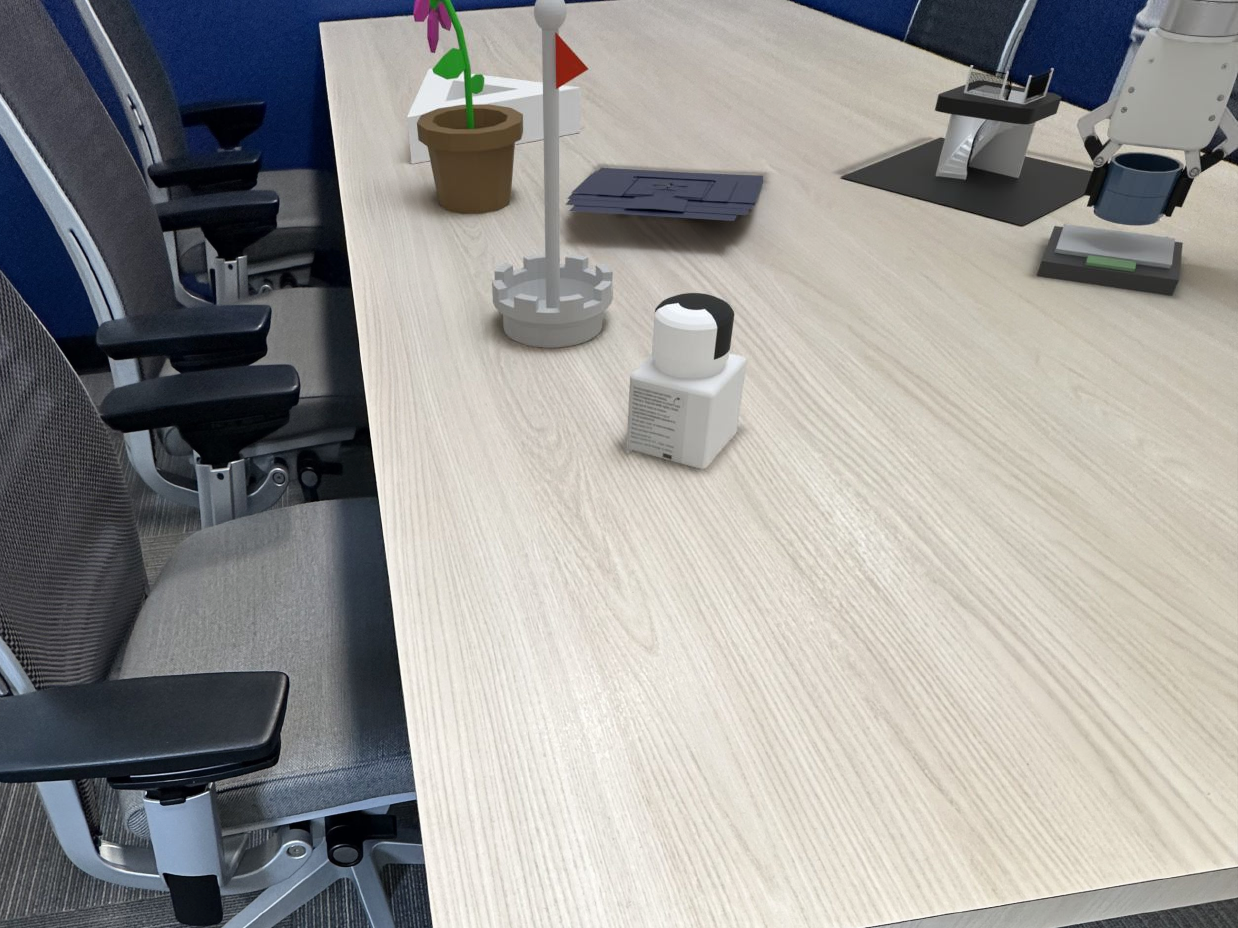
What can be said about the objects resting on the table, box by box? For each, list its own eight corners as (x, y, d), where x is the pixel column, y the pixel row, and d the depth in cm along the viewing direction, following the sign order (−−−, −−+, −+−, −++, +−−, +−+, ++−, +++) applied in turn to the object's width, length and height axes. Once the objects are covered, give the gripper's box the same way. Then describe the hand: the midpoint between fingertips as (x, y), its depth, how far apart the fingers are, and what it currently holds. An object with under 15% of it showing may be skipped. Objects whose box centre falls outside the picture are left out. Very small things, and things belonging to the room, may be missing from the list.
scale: (1173, 263, 114) (1185, 237, 112) (1169, 302, 106) (1181, 275, 104) (1047, 246, 118) (1056, 221, 116) (1034, 281, 111) (1043, 256, 109)
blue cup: (1162, 208, 110) (1185, 156, 106) (1159, 230, 105) (1182, 176, 102) (1094, 200, 112) (1113, 149, 108) (1088, 220, 108) (1108, 167, 104)
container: (661, 416, 91) (672, 277, 82) (737, 436, 89) (757, 294, 79) (624, 454, 87) (631, 311, 78) (703, 476, 84) (720, 330, 75)
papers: (553, 234, 122) (554, 202, 120) (598, 187, 145) (600, 160, 142) (746, 246, 117) (751, 213, 115) (762, 196, 140) (766, 168, 138)
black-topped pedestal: (839, 177, 138) (860, 69, 129) (940, 138, 150) (965, 35, 140) (1022, 226, 123) (1060, 107, 114) (1118, 178, 135) (1160, 66, 125)
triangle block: (432, 110, 169) (429, 68, 164) (580, 107, 168) (580, 64, 163) (411, 164, 148) (406, 117, 143) (580, 161, 147) (580, 113, 142)
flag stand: (470, 324, 107) (446, -7, 86) (558, 291, 113) (556, -27, 91) (546, 363, 100) (541, 12, 78) (636, 326, 105) (654, -11, 84)
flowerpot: (448, 181, 142) (427, -80, 120) (539, 189, 138) (535, -79, 117) (407, 213, 132) (378, -63, 111) (504, 223, 129) (493, -61, 107)
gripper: (1303, 16, 95) (1216, 208, 108) (1112, 4, 101) (1050, 187, 113) (1307, 32, 90) (1215, 230, 103) (1106, 19, 96) (1042, 208, 109)
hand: (1129, 206), depth 108 cm, fingers closed on blue cup, 7 cm apart
